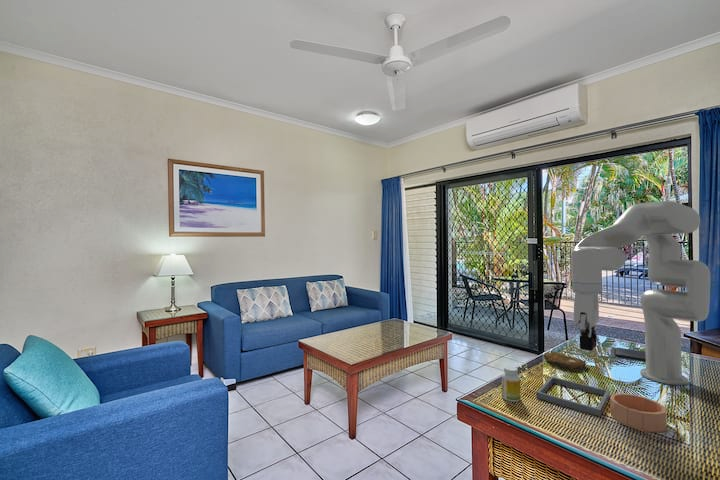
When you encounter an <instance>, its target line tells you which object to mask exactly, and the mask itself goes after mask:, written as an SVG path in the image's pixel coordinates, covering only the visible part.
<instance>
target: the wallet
mask: <svg viewBox="0 0 720 480" xmlns="http://www.w3.org/2000/svg"><path fill="white" fill-rule="evenodd" d="M609 357H611V358H615V359H623V360H629V361H636V362H641V363H646V354H645V350H643V351H642V350H638V349H629V348H623V347H611V349H610V354H609Z"/></svg>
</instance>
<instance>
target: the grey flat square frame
mask: <svg viewBox="0 0 720 480" xmlns="http://www.w3.org/2000/svg"><path fill="white" fill-rule="evenodd" d="M553 384H557V385H560V386H564V387H568V388H572V389H576V390H580V391H584V392H587V393H592V394H596V395H599V396H602V398H601V400H600V402H599V404H598V406H597V407H594V406H592V405H588V404H585V403H584V404H583V403H580V402H577V401H573V400H569V399H566V398H563V397H560V396H555V395H552V394H548V393H546V392H547V390H548V389H549V388H550V387H551V386H552V385H553ZM610 394H611V391H610V390H609V389H606V388H605V389H604V388H602V387H597V386H593V385H589V384H588V385H587V384H583V383H579V382H576V381H572V380H567V379H564V378H558V377H555V376H550V377H549V378H548V379H547V380H546V381H545V383H543V384H542V385H541V387H540V388H539V389H538V390H536V394H535V395H536V396H535V397H536V398H537V399H538V400H539V399H540V400H543V401H545V402H546V401H547V402H550V403H553V404H556V405H559V406H564V407H567V408H569V409H570V408H571V409H574V410H577V411H581V412H583V413H586V414H591V415H594V416H598V417H601V416H602V414H603V412H604V410H605V407H606V406H607V403H608V401H609V400H610V397H611V395H610Z"/></svg>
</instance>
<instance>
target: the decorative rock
mask: <svg viewBox="0 0 720 480" xmlns="http://www.w3.org/2000/svg"><path fill="white" fill-rule="evenodd" d="M543 357H544V359H545V360H546V362H549V363H553V365H556V366H558V367H559V366H561V367H564V368H567V369H568V370H570V371H572V372H573V371H574V372H575V371H576V372H577V371H579V372H584V371H585V367H586V365H587V363H586V362H587V361H586V360H582V359H581V358H578V357H573V356H569V355H565V354H562V353H558V352H557V351H556V352H555V351H551V352H550V353H549V352H545V353H543Z"/></svg>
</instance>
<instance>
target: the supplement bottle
mask: <svg viewBox="0 0 720 480" xmlns="http://www.w3.org/2000/svg"><path fill="white" fill-rule="evenodd" d="M518 374H519V369H518V368H517V367H515V366H514V365H513V366H512V365H505V366H503V373H502V374H501V397H502V398H503V400H505V401H507V402H512V403H517V402H519V401H520V400H521V376H520V375H518Z"/></svg>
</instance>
